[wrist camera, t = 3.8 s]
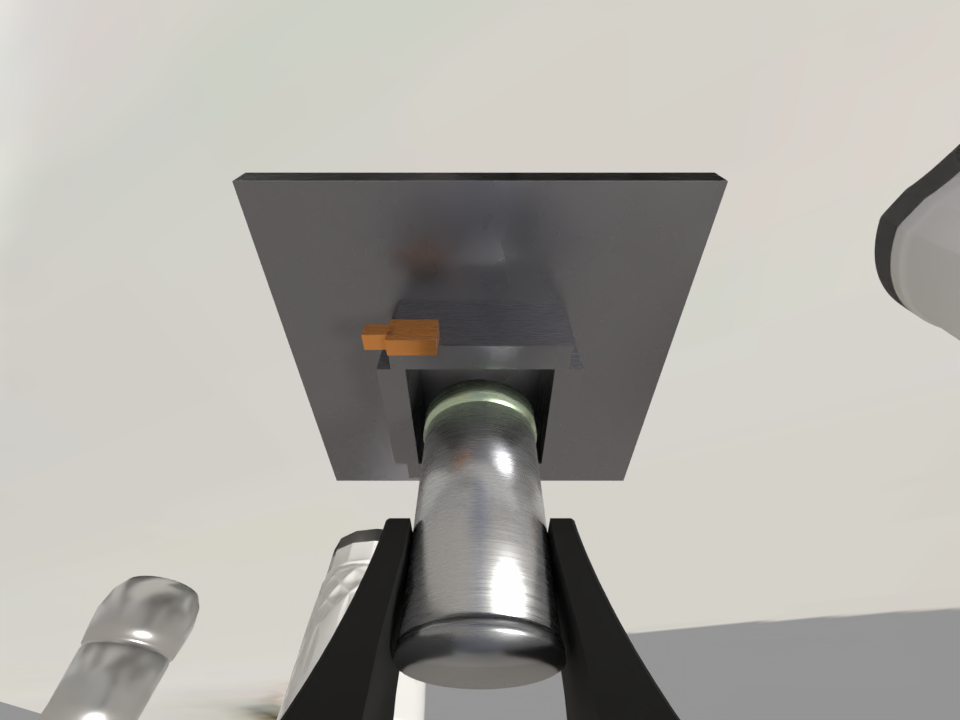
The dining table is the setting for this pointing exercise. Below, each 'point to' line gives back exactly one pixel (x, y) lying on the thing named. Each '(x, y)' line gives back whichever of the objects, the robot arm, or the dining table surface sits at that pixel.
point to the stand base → (480, 301)
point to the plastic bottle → (125, 651)
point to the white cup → (328, 613)
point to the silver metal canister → (480, 548)
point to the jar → (925, 246)
